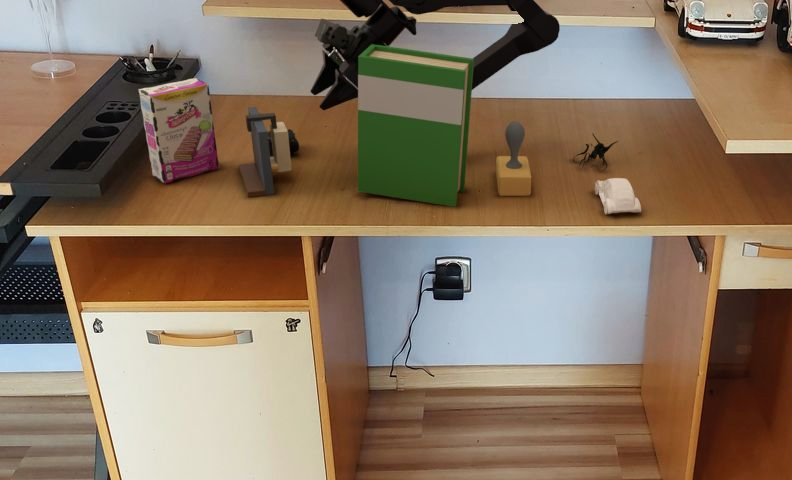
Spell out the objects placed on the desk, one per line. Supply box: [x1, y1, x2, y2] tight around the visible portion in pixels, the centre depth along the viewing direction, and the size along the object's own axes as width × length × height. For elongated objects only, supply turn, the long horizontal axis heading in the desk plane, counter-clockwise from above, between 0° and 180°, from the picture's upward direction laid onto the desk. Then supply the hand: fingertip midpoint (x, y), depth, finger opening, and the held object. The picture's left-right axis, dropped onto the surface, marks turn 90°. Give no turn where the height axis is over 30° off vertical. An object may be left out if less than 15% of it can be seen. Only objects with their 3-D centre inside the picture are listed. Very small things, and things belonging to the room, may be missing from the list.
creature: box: [572, 132, 619, 172], centre depth 174 cm, size 8×5×8 cm
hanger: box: [245, 112, 292, 173], centre depth 161 cm, size 7×5×10 cm
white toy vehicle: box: [594, 177, 642, 215], centre depth 159 cm, size 12×6×5 cm, turn 9°
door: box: [237, 106, 278, 198], centre depth 161 cm, size 6×13×12 cm, turn 21°
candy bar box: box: [137, 77, 220, 184], centre depth 162 cm, size 11×5×16 cm, turn 135°
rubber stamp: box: [495, 121, 532, 197], centre depth 162 cm, size 10×6×12 cm, turn 3°
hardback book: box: [357, 44, 474, 208], centre depth 155 cm, size 18×7×24 cm, turn 80°
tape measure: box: [267, 129, 300, 156], centre depth 175 cm, size 7×7×4 cm
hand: (316, 100), depth 161 cm, fingers open, 8 cm apart
